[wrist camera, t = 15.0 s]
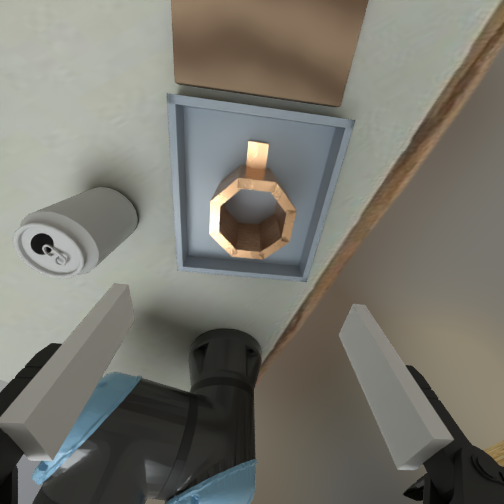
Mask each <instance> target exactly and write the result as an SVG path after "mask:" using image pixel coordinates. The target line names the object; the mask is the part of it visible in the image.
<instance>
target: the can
mask: <svg viewBox="0 0 504 504" xmlns="http://www.w3.org/2000/svg"><path fill="white" fill-rule="evenodd" d="M137 221H138V218H137V214H136V210H135V209H134V207H133V205H132V203H131V202H130V201H129V200H128V199H127V198H126V197H125V196H124V195H122V194H121V193H119V192H117V191H116V190H113V189H110V188H105V187H97V188H93V189H90V190H88V191H85V192H83V193H80V194H78V195H75V196H73V197H70V198H68V199H65V200H63V201H60V202H58V203H56V204H53V205H51V206H48V207H46V208H43V209H41V210H38V211H36V212H33V213H31V214H29V215H27V216H26V217H25V218H24V219H23V220H22V221H21V225H20V227H19V228H18V229H17V230H16V231H15V233H14V236H13V243H14V248H15V250H16V251H17V253H18V255H19V257H20V258H21V259H22V260H23V261H24V262H25V263H26V264H27V265H28V266H30V267H31V268H33V269H34V270H35V271H37V272H40V273H42V274H44V275H46V276H50V277H54V278H70V277H74V276H76V275H81V274H85V273H88V272H90V271H91V270H92V269H94V268H95V267H96V266H97V265H98V264H99V263H100V262H102V261H103V260H104V259H105V258H106V257H107V256H108V255H109V254H110V253H111V252H112V251H113V250H114V249H116V248H117V247H118V246H119V245H120V244H121V243H122V242H123V241H124V240H125V239H126V238H127V237H129V236H130V235H131V234H132V233H133V232H134V230H135V228H136V227H137Z"/></svg>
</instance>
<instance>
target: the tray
mask: <svg viewBox="0 0 504 504" xmlns="http://www.w3.org/2000/svg"><path fill="white" fill-rule="evenodd" d="M167 108H168V124H169V141H170V157H171V173H172V189H173V206H174V222H175V238H176V255H177V271H186V272H198V273H209V274H221V275H232V276H244V277H255V278H266V279H278V280H289V281H301V282H307V279H308V275H309V272H310V269H311V265H312V262H313V259H314V256H315V252H316V249H317V246H318V242H319V239H320V236H321V232H322V229H323V226H324V222H325V219H326V216H327V213H328V209H329V206H330V203H331V199H332V196H333V193H334V189H335V186H336V183H337V179H338V176H339V173H340V169H341V166H342V163H343V160H344V156H345V153H346V150H347V146H348V143H349V140H350V136H351V133H352V130H353V126H354V123H355V120H351V119H344V118H337V117H330V116H323V115H315V114H308V113H301V112H294V111H287V110H280V109H273V108H266V107H259V106H252V105H245V104H238V103H231V102H224V101H217V100H210V99H203V98H196V97H189V96H182V95H175V94H168V93H167ZM248 141H256V142H264V143H268V144H269V147H268V154H267V161H266V168H270V170H271V171H272V173H273V174H274V175H275V177H276V178H277V180H278V181H279V182H280V184H281V185H282V187H283V188H284V189H285V191H286V192H287V194H288V196H289V198H290V199H291V201H292V203H293V205H294V206H295V208H296V210H297V212H296V216H295V220H294V225H293V229H292V234H291V238H290V242H289V243H288V244H286V245H285V246H283V247H282V248H280V249H278V250H277V251H275V252H274V253H272V254H271V255H269V256H268V257H266V258H265V259H264V260H262V259H251V258H240V257H232V256H231V255H230V254H229V253H228V252H227V251H226V250H225V249H224V248H223V247H222V246H221V245H220V244H219V243H218V242H217V241H216V240H215V239H214V238H213V237H212V236H211V235H210V201H211V199H212V197H213V195H214V193H215V191H216V189H217V187H218V185H219V183H220V182H222V181H223V180H224V179H225V178H226V177H227V176H229V175H230V174H231V173H232V172H233V171H234V170H236V169H237V168H238V167H239V166H240V165H246V161H247V151H248ZM276 201H277V200H276V199H275V197H274V196H273V195H272V193H271V192H266V191H257V190H249V189H241V190H240V191H238V192H237V193H236V194H235V195H233V196H232V197H231V198H230V199H228V200H227V201H226V209H227V210H228V211H229V212H230V214H231V215H232V216H233V217H234V218H235V219H236V220H237V222H238V223H245V224H254V225H259V224H260V223H262V222H263V221H264V220H266V219H267V218H268V217H270V216H271V215H273V214H274V212H275V207H276Z"/></svg>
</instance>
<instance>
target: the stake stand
mask: <svg viewBox="0 0 504 504" xmlns="http://www.w3.org/2000/svg"><path fill="white" fill-rule="evenodd" d="M367 4H368V0H171V9H172V31H173V53H174V75H175V83H177V84H179V85H186V86H193V87H200V88H207V89H214V90H220V91H227V92H234V93H241V94H248V95H255V96H262V97H268V98H275V99H282V100H289V101H296V102H303V103H310V104H317V105H323V106H330V107H340V106H341V102H342V98H343V94H344V91H345V87H346V83H347V79H348V76H349V72H350V68H351V64H352V60H353V57H354V53H355V49H356V45H357V42H358V38H359V34H360V30H361V27H362V23H363V19H364V15H365V12H366V8H367Z"/></svg>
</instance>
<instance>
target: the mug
mask: <svg viewBox="0 0 504 504" xmlns="http://www.w3.org/2000/svg"><path fill="white" fill-rule="evenodd" d="M268 147H269V144H268V143H264V142H256V141H248V151H247V161H246V165H240V166H239V167H238V168H237V169H236V170H234V171H233V172H232V173H231V174H230V175H229V176H227V177H226V178H225V179H224V180H223V181H222V182H220V183H219V185H218V187H217V189H216V191H215V193H214V195H213V197H212V199H211V201H210V235H211V236H212V237H213V238H214V239H215V240H216V241H217V242H218V243H219V244H220V245H221V246H222V247H223V248H224V249H225V250H226V251H227V252H228V253H229V254H230V255H231V256H232V257H240V258H251V259H262V260H264V259H265V258H266V257H268V256H269V255H271V254H272V253H274V252H275V251H277V250H278V249H280V248H282V247H283V246H285V245H286V244H288V243H289V242H290V238H291V234H292V229H293V225H294V220H295V216H296V212H297V210H296V208H295V206H294V205H293V203H292V201H291V199H290V198H289V196H288V194H287V192H286V191H285V189H284V188H283V187H282V185H281V184H280V182H279V181H278V180H277V178H276V177H275V175H274V174H273V173H272V171H271V170H270V168H266V161H267V154H268ZM241 189H249V190H257V191H266V192H271V193H272V195H273V196H274V197H275V199H276V200H277V201H276V207H275V212H274V214H273V215H271V216H270V217H268V218H267V219H266V220H264V221H263V222H262V223H260V224H259V225H254V224H245V223H238V222H237V220H236V219H235V218H234V217H233V216H232V215H231V214H230V212H229V211H228V210H227V209H226V201H227V200H228V199H230V198H231V197H232V196H233V195H235V194H236V193H237V192H238V191H240V190H241Z"/></svg>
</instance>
